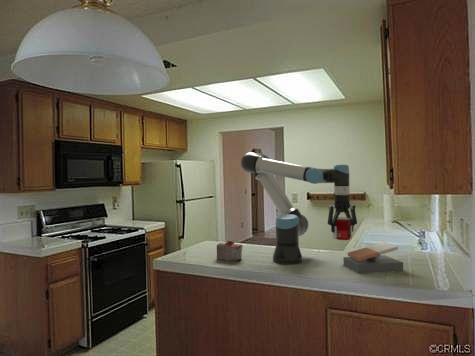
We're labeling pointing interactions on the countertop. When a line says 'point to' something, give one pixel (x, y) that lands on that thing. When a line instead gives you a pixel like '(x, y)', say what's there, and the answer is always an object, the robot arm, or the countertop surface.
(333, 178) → the robot arm
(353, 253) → the rocker switch
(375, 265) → the switch base
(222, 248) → the food item
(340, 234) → the canned food
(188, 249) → the countertop surface
